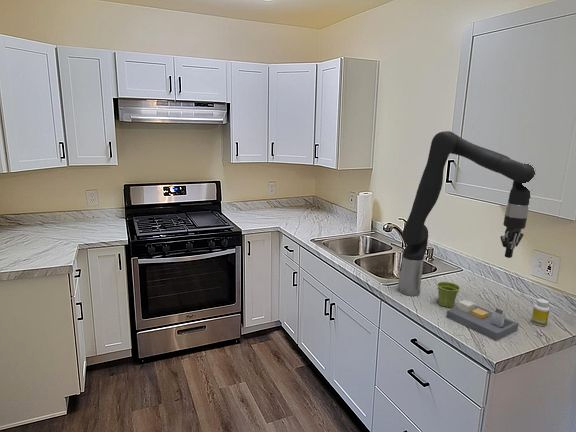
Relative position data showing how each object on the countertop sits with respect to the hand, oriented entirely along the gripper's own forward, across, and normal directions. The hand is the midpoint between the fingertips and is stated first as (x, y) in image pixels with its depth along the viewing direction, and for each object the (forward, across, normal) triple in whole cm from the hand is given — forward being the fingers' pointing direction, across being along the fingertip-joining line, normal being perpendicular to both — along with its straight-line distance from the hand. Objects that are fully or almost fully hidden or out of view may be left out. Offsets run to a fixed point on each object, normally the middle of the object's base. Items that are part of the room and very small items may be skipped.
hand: (508, 257), depth 157 cm
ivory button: (+25, +11, -7) cm, 28 cm away
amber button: (+26, +11, -1) cm, 28 cm away
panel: (+26, +11, 0) cm, 29 cm away
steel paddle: (+23, +13, +7) cm, 27 cm away
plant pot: (+27, +9, -18) cm, 34 cm away
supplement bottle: (+26, -10, +12) cm, 30 cm away
